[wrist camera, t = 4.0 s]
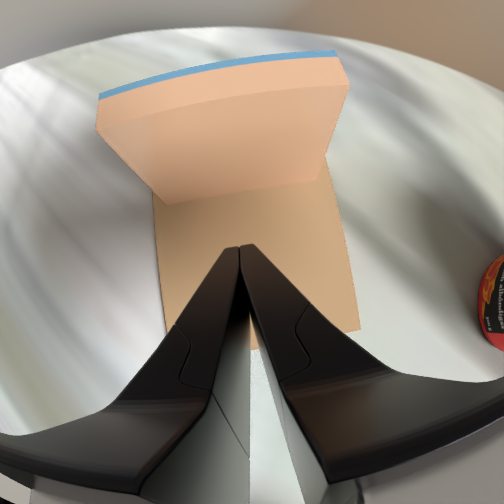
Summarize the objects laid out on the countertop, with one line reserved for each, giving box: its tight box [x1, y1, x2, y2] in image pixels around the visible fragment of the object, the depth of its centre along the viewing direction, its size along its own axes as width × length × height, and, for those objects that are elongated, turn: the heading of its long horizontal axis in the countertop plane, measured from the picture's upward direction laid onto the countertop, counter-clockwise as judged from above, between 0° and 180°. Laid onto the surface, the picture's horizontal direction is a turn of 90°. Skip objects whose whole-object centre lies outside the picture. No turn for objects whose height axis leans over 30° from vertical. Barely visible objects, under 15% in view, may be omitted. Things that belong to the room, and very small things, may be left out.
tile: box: [95, 50, 350, 205], centre depth 16 cm, size 2×10×10 cm, turn 99°
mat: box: [152, 157, 361, 350], centre depth 20 cm, size 12×12×1 cm
